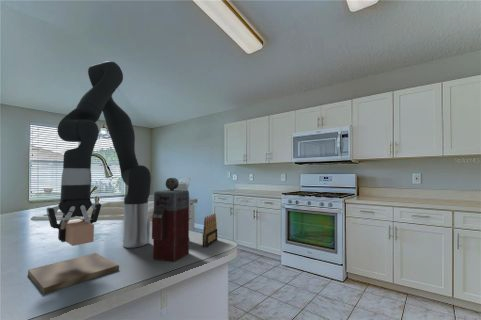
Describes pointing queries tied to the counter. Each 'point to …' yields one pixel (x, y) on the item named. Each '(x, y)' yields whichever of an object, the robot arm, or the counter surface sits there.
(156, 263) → the counter surface
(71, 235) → the block
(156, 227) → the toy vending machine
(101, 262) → the board
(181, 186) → the skyscraper
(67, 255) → the counter surface
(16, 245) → the counter surface
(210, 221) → the ammunition clip
